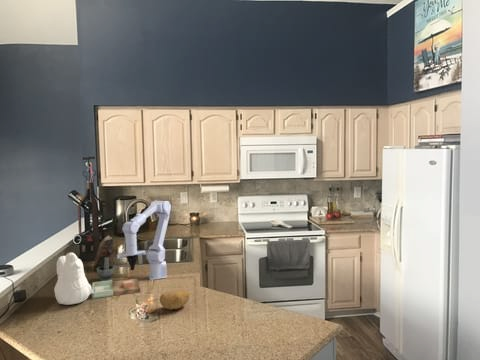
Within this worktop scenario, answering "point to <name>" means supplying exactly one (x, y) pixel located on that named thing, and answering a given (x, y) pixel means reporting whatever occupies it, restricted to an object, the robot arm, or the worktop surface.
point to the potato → (174, 299)
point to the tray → (107, 287)
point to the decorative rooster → (71, 281)
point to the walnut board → (120, 290)
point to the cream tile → (99, 288)
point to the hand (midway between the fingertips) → (132, 269)
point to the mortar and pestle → (106, 270)
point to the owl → (104, 253)
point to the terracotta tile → (127, 283)
